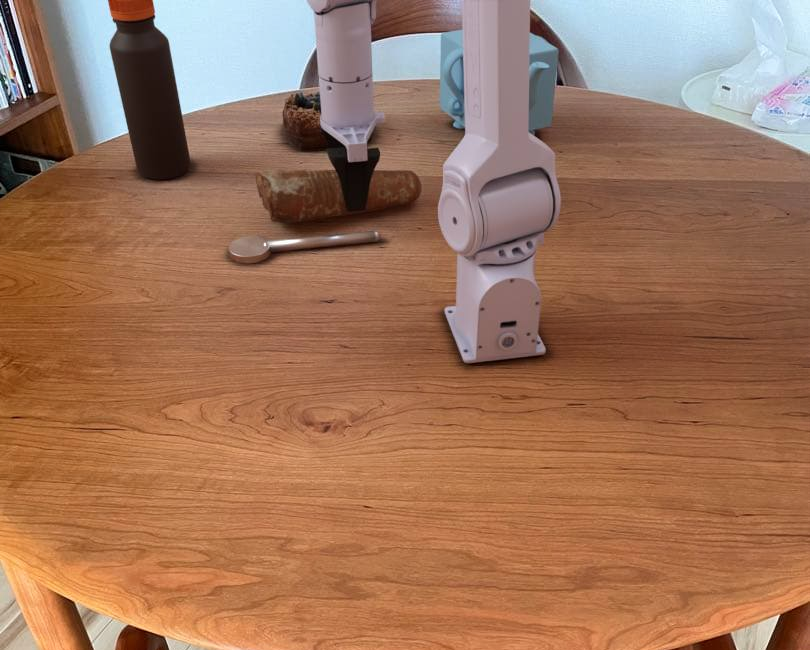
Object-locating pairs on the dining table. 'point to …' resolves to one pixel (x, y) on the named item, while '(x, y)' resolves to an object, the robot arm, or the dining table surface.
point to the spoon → (292, 244)
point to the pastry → (305, 122)
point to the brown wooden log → (329, 193)
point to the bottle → (148, 91)
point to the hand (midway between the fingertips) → (352, 198)
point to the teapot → (540, 79)
